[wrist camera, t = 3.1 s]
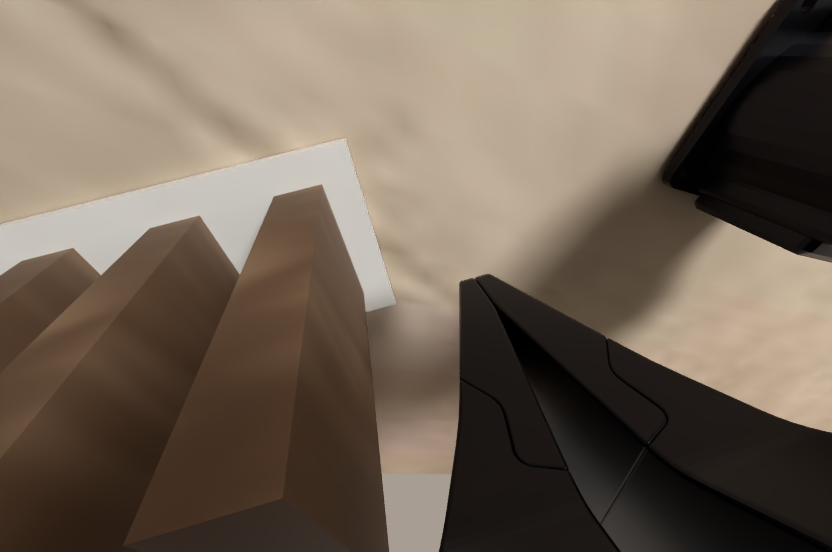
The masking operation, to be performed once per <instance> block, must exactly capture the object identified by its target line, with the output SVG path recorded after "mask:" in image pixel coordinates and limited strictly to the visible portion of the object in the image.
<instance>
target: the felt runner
mask: <svg viewBox="0 0 832 552" xmlns="http://www.w3.org/2000/svg"><path fill="white" fill-rule="evenodd" d="M321 184H322V186H323V188H324V191H325V193H326V196H327V199H328V201H329V204H330V206H331V209H332V212H333V214H334V217H335V219H336V222H337V225H338V227H339V230H340V232H341V235H342V237H343V240H344V243H345V245H346V248H347V250H348V253H349V256H350V258H351V261H352V263H353V266H354V269H355V271H356V274H357V276H358V279H359V282H360V284H361V287H362V289H363V292H364V300H365V311H366V312H369V311H373V310H376V309H380V308H384V307H387V306H391V305H395V304H396V302H395V297H394V294H393V291H392V288H391V284H390V281H389V278H388V275H387V271H386V268H385V265H384V262H383V258H382V255H381V252H380V249H379V245H378V242H377V239H376V236H375V232H374V229H373V226H372V223H371V220H370V216H369V213H368V210H367V207H366V203H365V200H364V197H363V194H362V190H361V187H360V184H359V181H358V177H357V174H356V171H355V168H354V164H353V161H352V158H351V155H350V151H349V148H348V145H347V142H346V138H342V139H338V140H334V141H330V142H326V143H322V144H318V145H314V146H310V147H306V148H302V149H298V150H294V151H290V152H286V153H282V154H278V155H274V156H270V157H266V158H262V159H258V160H254V161H250V162H246V163H242V164H238V165H234V166H230V167H226V168H222V169H218V170H214V171H210V172H206V173H202V174H198V175H194V176H190V177H186V178H182V179H178V180H174V181H170V182H166V183H162V184H158V185H154V186H150V187H146V188H142V189H138V190H134V191H130V192H126V193H122V194H118V195H114V196H110V197H106V198H102V199H98V200H94V201H90V202H86V203H82V204H78V205H74V206H70V207H66V208H62V209H58V210H54V211H50V212H46V213H42V214H38V215H34V216H30V217H26V218H22V219H18V220H14V221H10V222H6V223H2V224H0V275H2V274H3V273H5V272H6V271H8V270H9V269H10V268H12V267H13V266H15V265H16V264H18V263H19V262H21V261H23V260H27V259H31V258H35V257H39V256H43V255H47V254H51V253H55V252H59V251H63V250H66V249H70V248H74V249H75V250H76V251H77V252H78V253H79V254H80V255H81V256H82V257H83V258H84V259H85V260H86V261H87V262H88V263H89V264H90V265H91V266H92V267H93V268H94V269H95V270H96V271H97V272H98V273H99V274H100V275H102V274H103V273H104V272H105V271H106V270H107V269H108V268H109V267H110V266H111V265H112V264H113V263H114V262H115V261H116V260H117V259H118V258H120V257H121V256H122V255H123V254H124V253H125V252H126V251H127V250H128V249H129V248H130V247H131V246H132V245H133V244H134V243H135V242H136V241H137V240H138V239H139V238H140V237H141V236H142V235H143V234H144V233H145V232H146V231H147V230H148V229H149V228H152V227H156V226H160V225H164V224H168V223H172V222H176V221H180V220H184V219H188V218H192V217H195V216H199V215H200V217H201V218H202V220H203V221H204V223H205V224H206V226H207V227H208V229H209V230H210V232H211V233H212V235H213V236H214V237H215V239H216V240H217V242H218V243H219V245H220V246H221V248H222V249H223V251H224V252H225V254H226V255H227V257H228V258H229V260H230V261H231V262H232V264H233V265H234V267H235V268H236V270H237V271H238V273H239V274H241V271H242V269H243V267H244V264H245V262H246V260H247V257H248V255H249V253H250V250H251V248H252V246H253V243H254V241H255V239H256V236H257V234H258V232H259V230H260V227H261V225H262V223H263V220H264V218H265V216H266V213H267V211H268V209H269V206H270V204H271V202H272V199H273V197H274V196H278V195H281V194H285V193H289V192H293V191H297V190H301V189H305V188H309V187H313V186H317V185H321Z"/></svg>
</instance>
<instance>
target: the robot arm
mask: <svg viewBox="0 0 832 552" xmlns="http://www.w3.org/2000/svg"><path fill="white" fill-rule="evenodd" d="M662 181H663V183H664V184H665V185H667V186H670V187H672V188H675V189H678V190H682V191H685V192H689V193H692V194H696V195H699V196H698V197H697V198H696V200H695V201H694V203H695V207H696V208H697V209H699V210H701V211H703V212H706V213H708V214H710V215H712V216H714V217H716V218H719V219H721V220H723V221H725V222H727V223H730V224H732V225H734V226H736V227H738V228H740V229H743V230H745V231H747V232H749V233H751V234H753V235H756V236H758V237H760V238H762V239H764V240H767V241H769V242H771V243H773V244H775V245H777V246H780V247H782V248H784V249H786V250H788V251H790V252H793V253H795V254H797V255H801V256H806V257H810V258H814V259H819V260H823V261H827V262H832V0H784V1H783V3H782V4H781V6H780V7H779V8H778V10H777V11H776V13H775V14H774V16H773V17H772V18H771V20H770V21H769V23H768V24H767V26H766V27H765V28H764V30H763V31H762V33H761V34H760V36H759V37H758V39H757V40H756V41H755V43H754V44H753V46H752V47H751V49H750V50H749V51H748V53H747V54H746V56H745V57H744V59H743V60H742V61H741V63H740V64H739V66H738V67H737V69H736V70H735V71H734V73H733V74H732V76H731V77H730V79H729V80H728V81H727V83H726V84H725V86H724V87H723V89H722V90H721V92H720V93H719V94H718V96H717V97H716V99H715V100H714V102H713V103H712V104H711V106H710V107H709V109H708V110H707V112H706V113H705V114H704V116H703V117H702V119H701V120H700V122H699V123H698V124H697V126H696V127H695V129H694V130H693V132H692V133H691V135H690V136H689V137H688V139H687V140H686V142H685V143H684V145H683V146H682V147H681V149H680V150H679V152H678V153H677V155H676V156H675V157H674V159H673V160H672V162H671V163H670V165H669V166H668V167H667V169H666V170H665V172H664V174H663V177H662ZM459 325H460V399H459V422H458V431H457V440H456V448H455V455H454V462H453V469H452V476H451V483H450V489H449V497H448V503H447V510H446V517H445V523H444V529H443V534H442V539H441V545H440V549H439V552H832V433H831V432H826V431H822V430H818V429H814V428H810V427H806V426H803V425H800V424H796V423H793V422H790V421H787V420H785V419H782V418H779V417H776V416H774V415H771V414H769V413H767V412H764V411H762V410H760V409H757V408H755V407H753V406H751V405H748V404H746V403H744V402H742V401H739V400H737V399H735V398H733V397H731V396H728V395H726V394H724V393H722V392H719V391H717V390H715V389H713V388H710V387H708V386H706V385H704V384H701V383H699V382H697V381H695V380H693V379H690V378H688V377H686V376H684V375H681V374H679V373H677V372H675V371H673V370H671V369H669V368H666V367H664V366H662V365H660V364H658V363H656V362H654V361H651V360H649V359H648V358H646V357H644V356H642V355H640V354H638V353H636V352H634V351H632V350H630V349H628V348H626V347H624V346H622V345H621V344H619V343H617V342H615V341H613V340H611V339H609V338H608V339H607V340H606V337H605V336H604V335H602V334H600V333H598V332H596V331H594V330H593V329H591V328H589V327H587V326H585V325H583V324H581V323H580V322H578V321H576V320H574V319H572V318H570V317H569V316H567V315H565V314H563V313H561V312H559V311H557V310H556V309H554V308H552V307H550V306H548V305H546V304H544V303H543V302H541V301H539V300H537V299H535V298H533V297H532V296H530V295H528V294H526V293H524V292H522V291H520V290H519V289H517V288H515V287H513V286H511V285H509V284H507V283H506V282H504V281H502V280H500V279H498V278H496V277H495V276H493V275H491V274H485V275H482V276H478V277H476V278H475V279H473V278H471V279H467V280H464V281H461V282H460V283H459Z"/></svg>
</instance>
